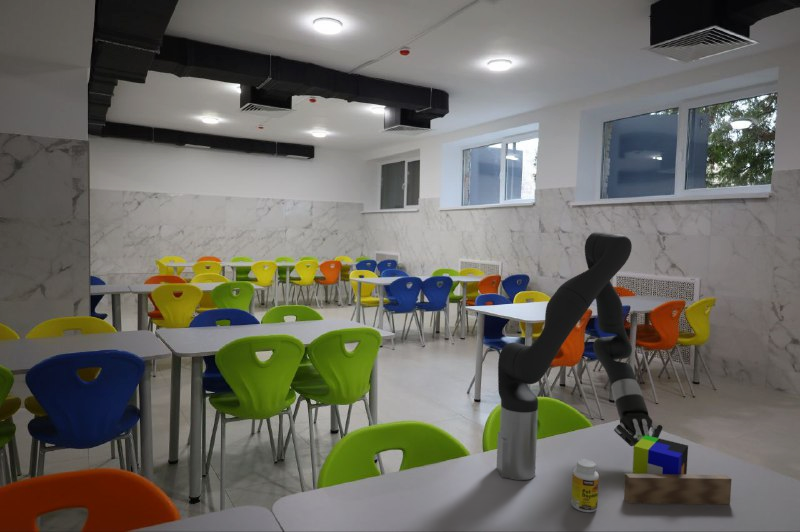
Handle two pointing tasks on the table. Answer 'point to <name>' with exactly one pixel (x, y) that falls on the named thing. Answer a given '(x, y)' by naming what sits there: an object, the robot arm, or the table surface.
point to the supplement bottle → (585, 486)
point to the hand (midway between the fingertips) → (648, 461)
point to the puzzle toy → (659, 457)
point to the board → (677, 488)
